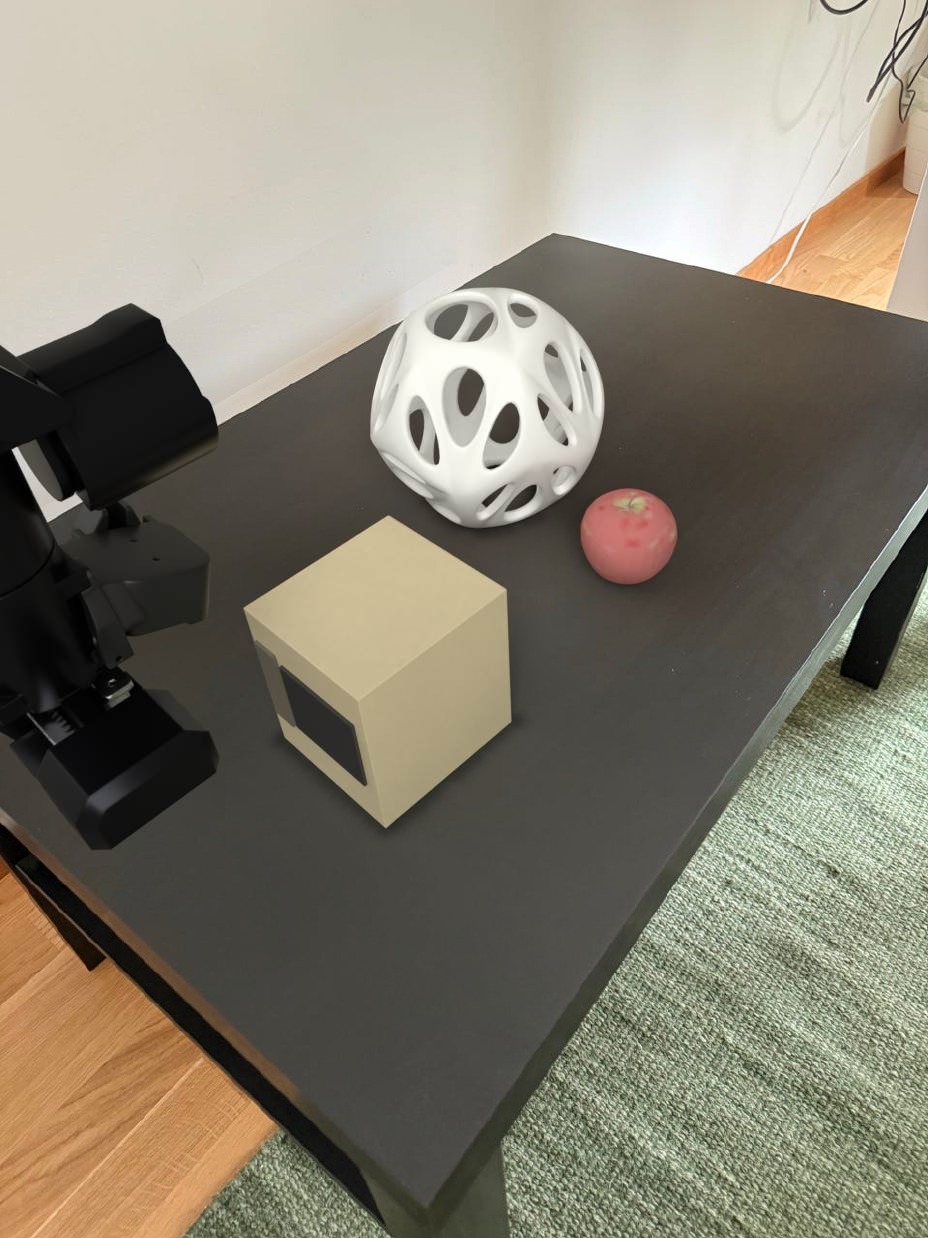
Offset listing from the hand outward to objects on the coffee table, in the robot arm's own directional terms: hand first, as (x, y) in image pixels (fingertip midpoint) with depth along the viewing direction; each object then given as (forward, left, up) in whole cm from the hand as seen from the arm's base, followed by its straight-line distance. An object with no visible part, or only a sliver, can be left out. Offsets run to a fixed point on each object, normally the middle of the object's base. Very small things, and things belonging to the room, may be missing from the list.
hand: (110, 783), depth 48 cm
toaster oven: (+17, +6, -13) cm, 23 cm away
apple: (+40, +13, -13) cm, 44 cm away
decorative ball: (+35, +28, -13) cm, 47 cm away
